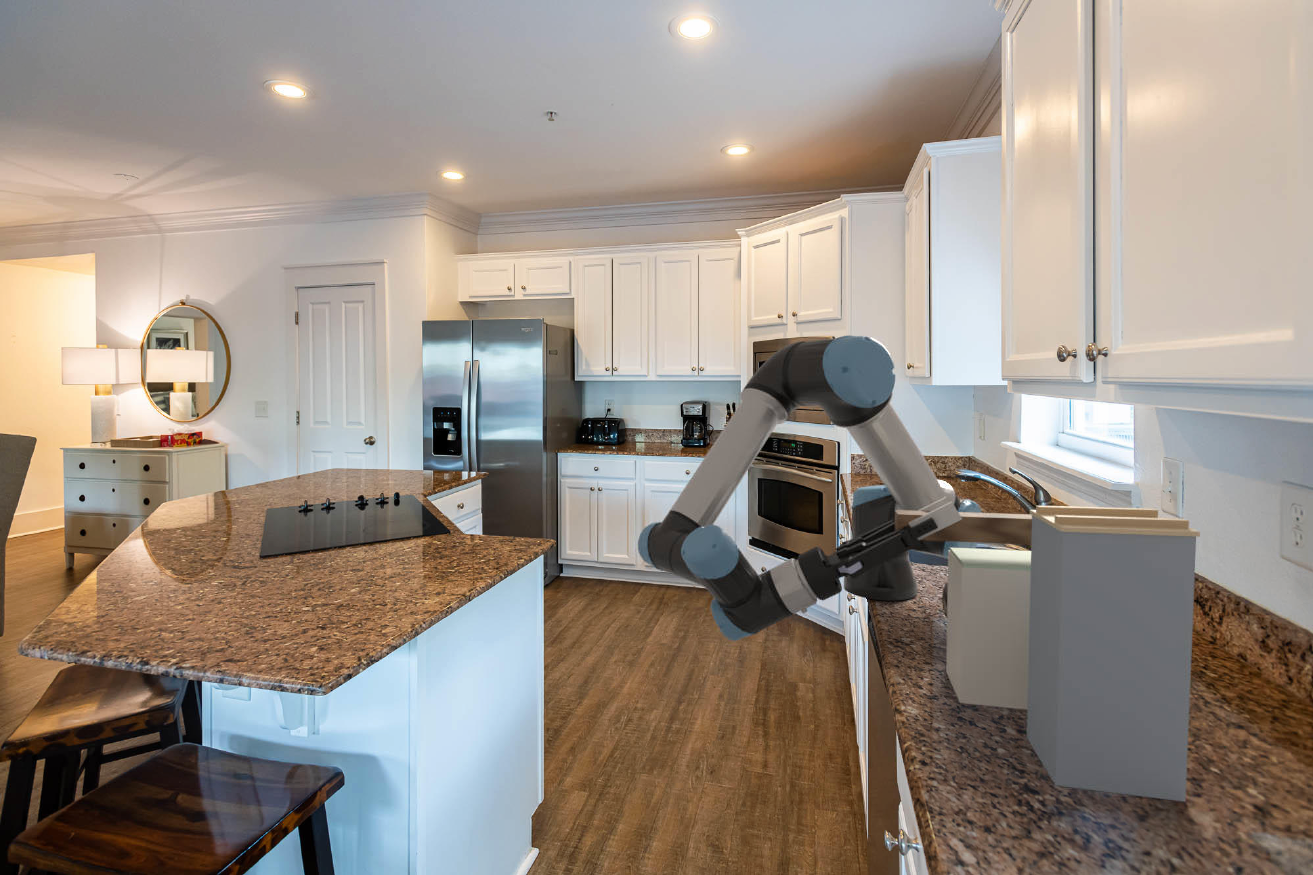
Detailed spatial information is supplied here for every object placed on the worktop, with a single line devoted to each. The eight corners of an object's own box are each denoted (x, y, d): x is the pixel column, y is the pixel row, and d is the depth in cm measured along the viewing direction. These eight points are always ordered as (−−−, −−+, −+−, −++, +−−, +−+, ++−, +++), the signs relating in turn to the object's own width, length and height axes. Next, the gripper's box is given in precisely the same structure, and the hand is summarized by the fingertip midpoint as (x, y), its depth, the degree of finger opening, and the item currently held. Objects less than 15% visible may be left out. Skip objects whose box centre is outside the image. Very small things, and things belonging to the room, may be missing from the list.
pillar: (1140, 749, 76) (1148, 506, 74) (1188, 803, 66) (1200, 523, 64) (1024, 736, 79) (1029, 503, 77) (1054, 786, 69) (1061, 519, 67)
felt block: (960, 702, 87) (962, 564, 86) (946, 672, 97) (948, 547, 96) (1127, 719, 82) (1132, 572, 81) (1095, 685, 92) (1099, 553, 91)
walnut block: (1092, 542, 88) (1093, 516, 88) (1104, 548, 85) (1105, 521, 84) (894, 533, 95) (894, 509, 94) (897, 538, 91) (897, 514, 91)
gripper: (820, 585, 104) (955, 519, 98) (820, 619, 88) (981, 543, 82) (797, 545, 105) (930, 477, 99) (792, 571, 89) (951, 493, 83)
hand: (953, 507), depth 91 cm, fingers closed on walnut block, 4 cm apart
